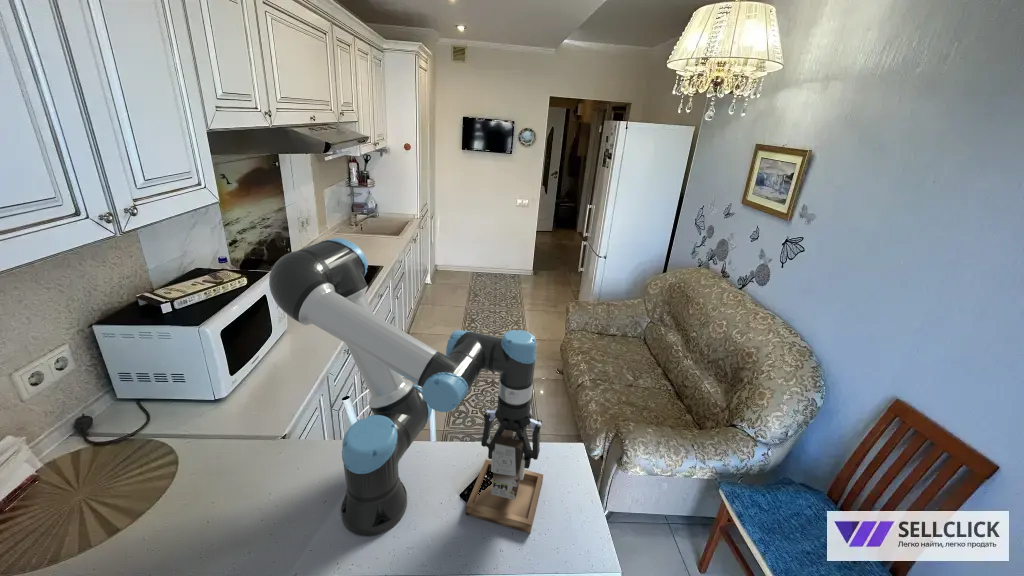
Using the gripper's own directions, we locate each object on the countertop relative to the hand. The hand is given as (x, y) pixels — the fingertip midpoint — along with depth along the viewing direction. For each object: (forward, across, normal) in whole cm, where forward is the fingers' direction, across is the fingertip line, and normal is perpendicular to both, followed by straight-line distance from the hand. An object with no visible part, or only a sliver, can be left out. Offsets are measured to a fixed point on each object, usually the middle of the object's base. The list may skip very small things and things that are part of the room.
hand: (508, 471), depth 100 cm
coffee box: (+4, 0, 0) cm, 4 cm away
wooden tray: (+9, 0, 0) cm, 9 cm away
